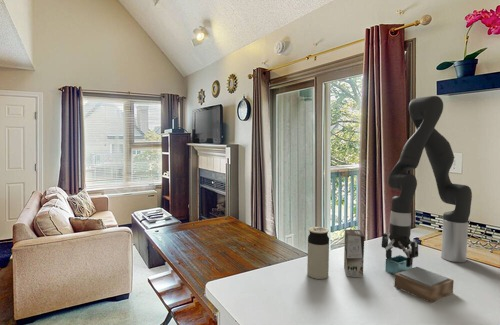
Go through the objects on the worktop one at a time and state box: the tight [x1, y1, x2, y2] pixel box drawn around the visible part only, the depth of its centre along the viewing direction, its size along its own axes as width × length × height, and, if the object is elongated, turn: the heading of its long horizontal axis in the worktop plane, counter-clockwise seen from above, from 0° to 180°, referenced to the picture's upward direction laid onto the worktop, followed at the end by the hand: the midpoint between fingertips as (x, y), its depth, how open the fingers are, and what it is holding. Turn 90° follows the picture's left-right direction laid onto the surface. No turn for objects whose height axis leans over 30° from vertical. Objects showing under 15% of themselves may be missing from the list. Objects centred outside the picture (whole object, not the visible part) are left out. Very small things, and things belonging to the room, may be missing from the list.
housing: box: [385, 254, 413, 276], centre depth 122 cm, size 9×6×5 cm, turn 120°
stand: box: [393, 266, 454, 304], centre depth 107 cm, size 13×13×5 cm
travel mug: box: [306, 226, 330, 280], centre depth 118 cm, size 8×8×18 cm
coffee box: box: [343, 228, 366, 279], centre depth 120 cm, size 9×6×16 cm
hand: (398, 262), depth 122 cm, fingers open, 8 cm apart
